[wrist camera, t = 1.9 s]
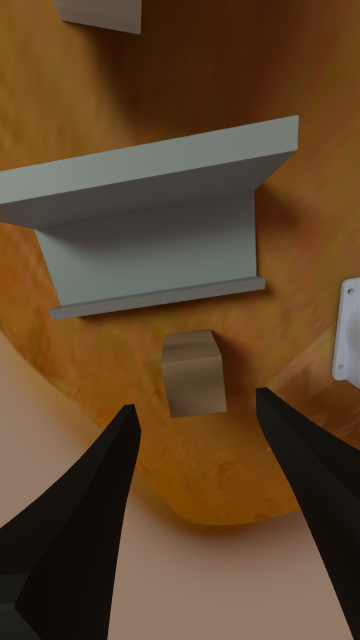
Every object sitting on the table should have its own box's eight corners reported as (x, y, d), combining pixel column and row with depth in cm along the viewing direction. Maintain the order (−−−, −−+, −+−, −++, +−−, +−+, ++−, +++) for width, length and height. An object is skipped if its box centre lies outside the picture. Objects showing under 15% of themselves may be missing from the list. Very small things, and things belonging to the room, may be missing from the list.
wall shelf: (253, 284, 15) (292, 297, 10) (68, 312, 16) (13, 338, 11) (250, 174, 13) (298, 115, 8) (34, 212, 14) (-58, 182, 8)
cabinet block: (214, 374, 18) (227, 414, 13) (174, 379, 18) (172, 421, 14) (209, 328, 17) (221, 355, 12) (165, 334, 17) (160, 363, 12)
